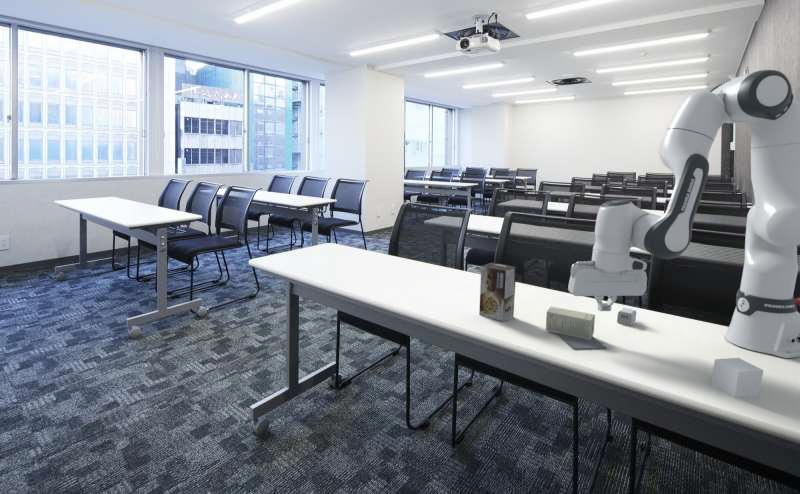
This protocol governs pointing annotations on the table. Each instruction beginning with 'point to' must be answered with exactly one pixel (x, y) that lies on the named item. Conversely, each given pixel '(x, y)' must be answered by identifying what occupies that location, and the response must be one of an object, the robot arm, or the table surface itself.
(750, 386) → the light grey cube
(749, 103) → the robot arm
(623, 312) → the usb wall charger
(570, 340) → the rubber mat
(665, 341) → the table surface
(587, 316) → the skincare box
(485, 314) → the coffee box
